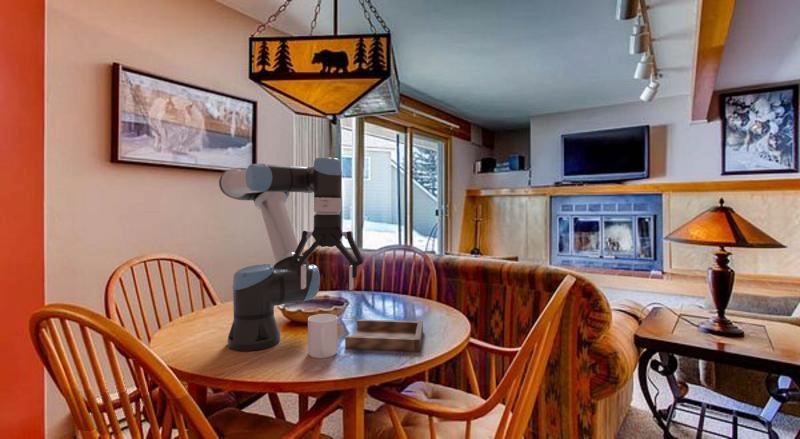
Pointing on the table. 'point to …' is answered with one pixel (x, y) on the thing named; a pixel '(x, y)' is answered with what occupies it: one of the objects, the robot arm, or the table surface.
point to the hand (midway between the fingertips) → (327, 288)
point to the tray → (386, 335)
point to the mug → (322, 335)
